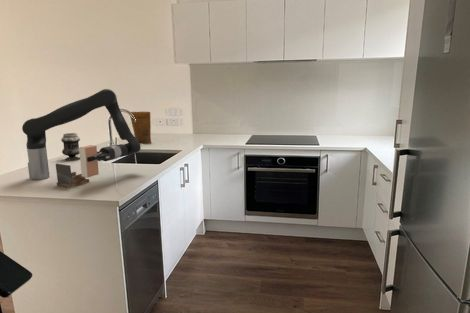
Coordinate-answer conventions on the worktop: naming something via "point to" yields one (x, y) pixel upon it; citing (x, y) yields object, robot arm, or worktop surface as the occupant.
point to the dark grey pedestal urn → (71, 146)
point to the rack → (68, 177)
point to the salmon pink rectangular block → (87, 167)
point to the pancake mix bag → (142, 127)
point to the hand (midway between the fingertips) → (84, 159)
